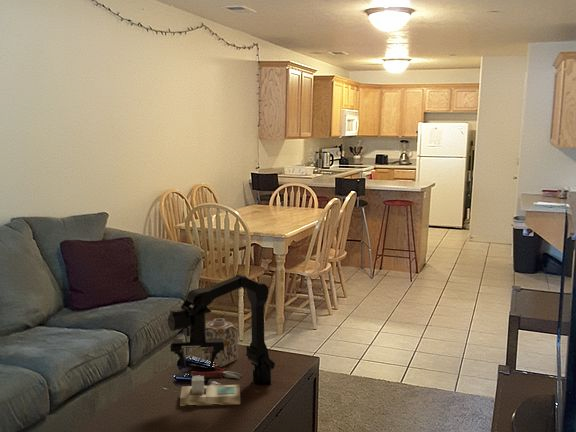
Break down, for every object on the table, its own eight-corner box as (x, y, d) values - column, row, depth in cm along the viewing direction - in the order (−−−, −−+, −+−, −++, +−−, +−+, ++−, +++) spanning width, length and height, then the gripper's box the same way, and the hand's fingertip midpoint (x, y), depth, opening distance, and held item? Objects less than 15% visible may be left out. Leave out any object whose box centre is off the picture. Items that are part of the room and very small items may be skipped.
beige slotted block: (239, 392, 227) (239, 384, 227) (240, 404, 217) (240, 395, 217) (182, 394, 225) (182, 385, 225) (180, 406, 215) (180, 397, 215)
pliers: (235, 384, 236) (235, 378, 235) (188, 377, 242) (188, 371, 242) (247, 374, 246) (247, 367, 246) (201, 367, 253) (201, 361, 252)
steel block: (204, 396, 223) (204, 375, 222) (203, 401, 219) (203, 380, 218) (192, 397, 223) (192, 376, 222) (191, 402, 219) (191, 380, 218)
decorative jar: (238, 359, 261) (238, 318, 259) (221, 368, 251) (221, 325, 249) (216, 354, 267) (216, 313, 265) (199, 362, 257) (198, 320, 255)
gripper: (224, 318, 226) (224, 359, 228) (172, 319, 225) (173, 360, 227) (224, 327, 215) (224, 370, 217) (170, 328, 214) (170, 371, 216)
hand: (198, 367), depth 220 cm, fingers open, 9 cm apart
